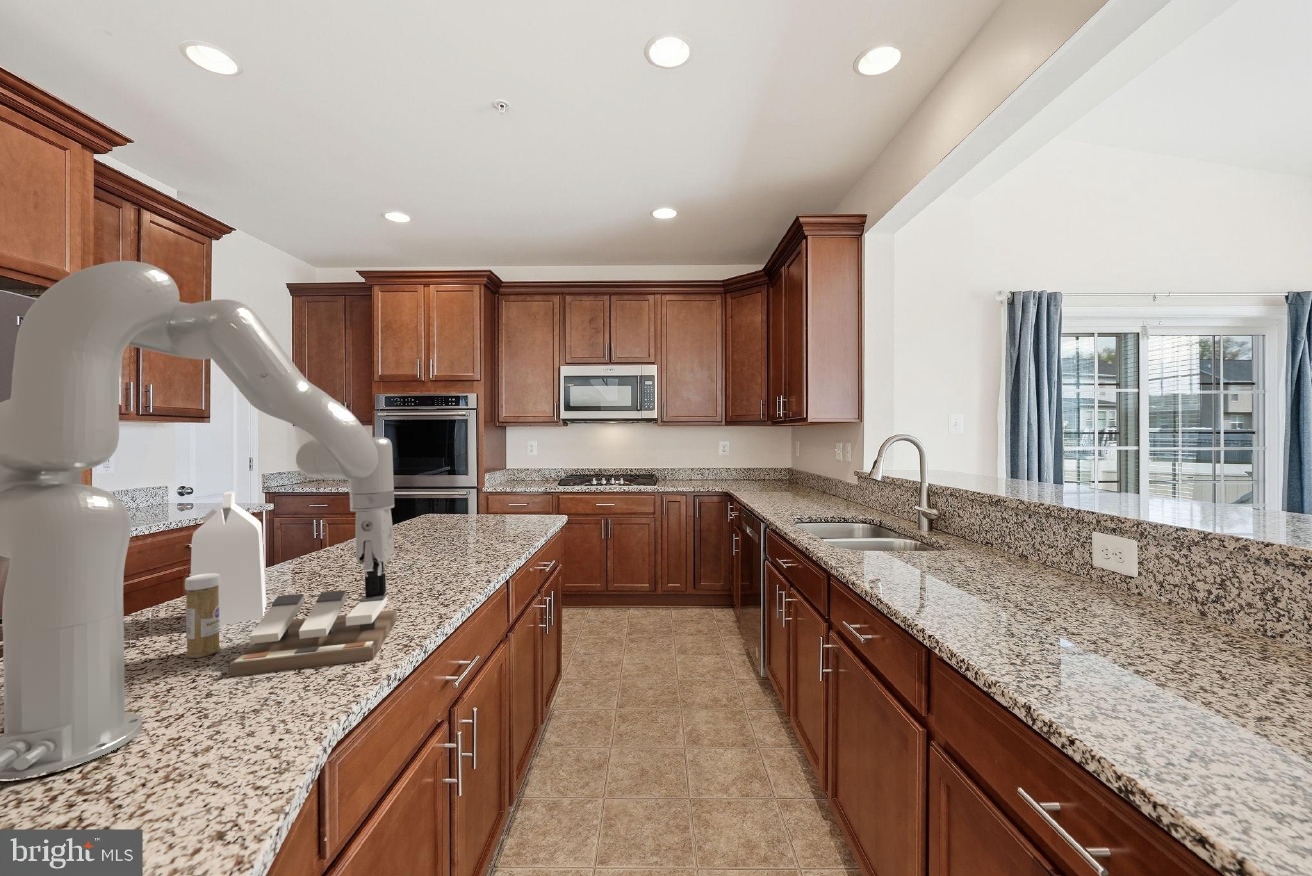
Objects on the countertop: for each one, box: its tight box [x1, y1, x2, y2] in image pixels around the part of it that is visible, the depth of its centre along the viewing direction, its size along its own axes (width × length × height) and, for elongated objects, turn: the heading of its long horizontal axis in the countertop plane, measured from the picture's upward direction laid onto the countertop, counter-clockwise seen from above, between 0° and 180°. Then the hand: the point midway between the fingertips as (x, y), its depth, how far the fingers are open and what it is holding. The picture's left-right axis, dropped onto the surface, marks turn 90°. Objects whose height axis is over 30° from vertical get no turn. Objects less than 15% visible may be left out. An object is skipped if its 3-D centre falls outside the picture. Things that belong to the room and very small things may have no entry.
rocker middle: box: [299, 590, 347, 639], centre depth 93 cm, size 12×4×2 cm, turn 16°
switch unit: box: [229, 609, 398, 677], centre depth 93 cm, size 20×20×4 cm
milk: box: [190, 491, 267, 627], centre depth 109 cm, size 12×12×26 cm
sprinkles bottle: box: [184, 573, 221, 659], centre depth 90 cm, size 5×5×14 cm
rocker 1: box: [249, 593, 305, 645], centre depth 91 cm, size 12×4×2 cm, turn 16°
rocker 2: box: [346, 593, 388, 626], centre depth 95 cm, size 12×4×2 cm, turn 16°
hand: (375, 595), depth 101 cm, fingers closed
